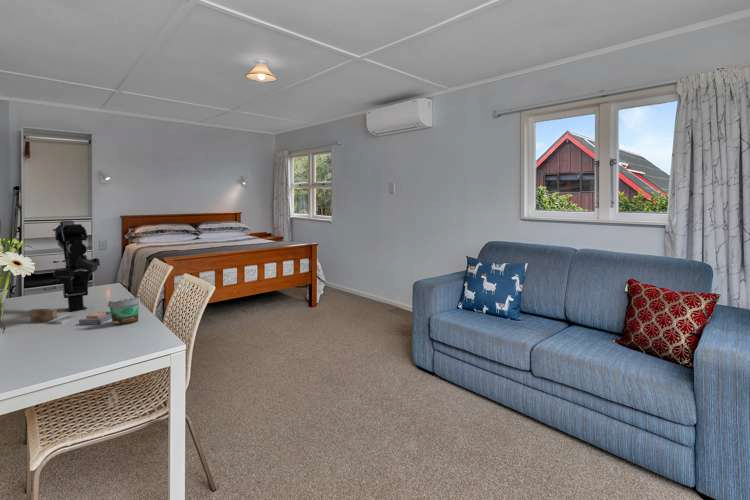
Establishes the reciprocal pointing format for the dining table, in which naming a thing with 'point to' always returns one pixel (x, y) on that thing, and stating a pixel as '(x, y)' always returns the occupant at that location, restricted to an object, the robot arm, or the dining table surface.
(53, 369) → the dining table surface
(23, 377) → the dining table surface
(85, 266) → the robot arm
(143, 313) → the dining table surface
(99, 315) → the salmon pink box
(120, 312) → the food container
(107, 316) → the frame
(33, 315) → the turner
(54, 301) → the dining table surface
